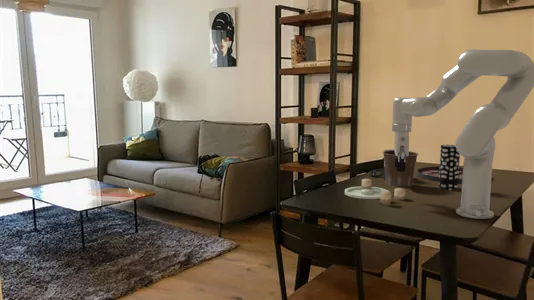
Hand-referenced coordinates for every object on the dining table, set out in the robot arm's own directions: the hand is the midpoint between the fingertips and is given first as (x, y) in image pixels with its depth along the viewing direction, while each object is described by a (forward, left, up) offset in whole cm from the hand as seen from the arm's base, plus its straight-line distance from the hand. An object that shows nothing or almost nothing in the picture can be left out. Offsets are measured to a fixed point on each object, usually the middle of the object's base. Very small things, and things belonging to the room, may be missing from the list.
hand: (399, 169), depth 178 cm
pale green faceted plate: (+7, +13, -13) cm, 20 cm away
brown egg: (-6, +6, -13) cm, 16 cm away
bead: (+12, +13, -12) cm, 22 cm away
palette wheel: (+58, -33, -14) cm, 68 cm away
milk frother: (+49, +2, -14) cm, 51 cm away
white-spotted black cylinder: (+28, -25, -14) cm, 40 cm away
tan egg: (0, 0, -13) cm, 13 cm away
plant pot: (+30, -3, -14) cm, 33 cm away
